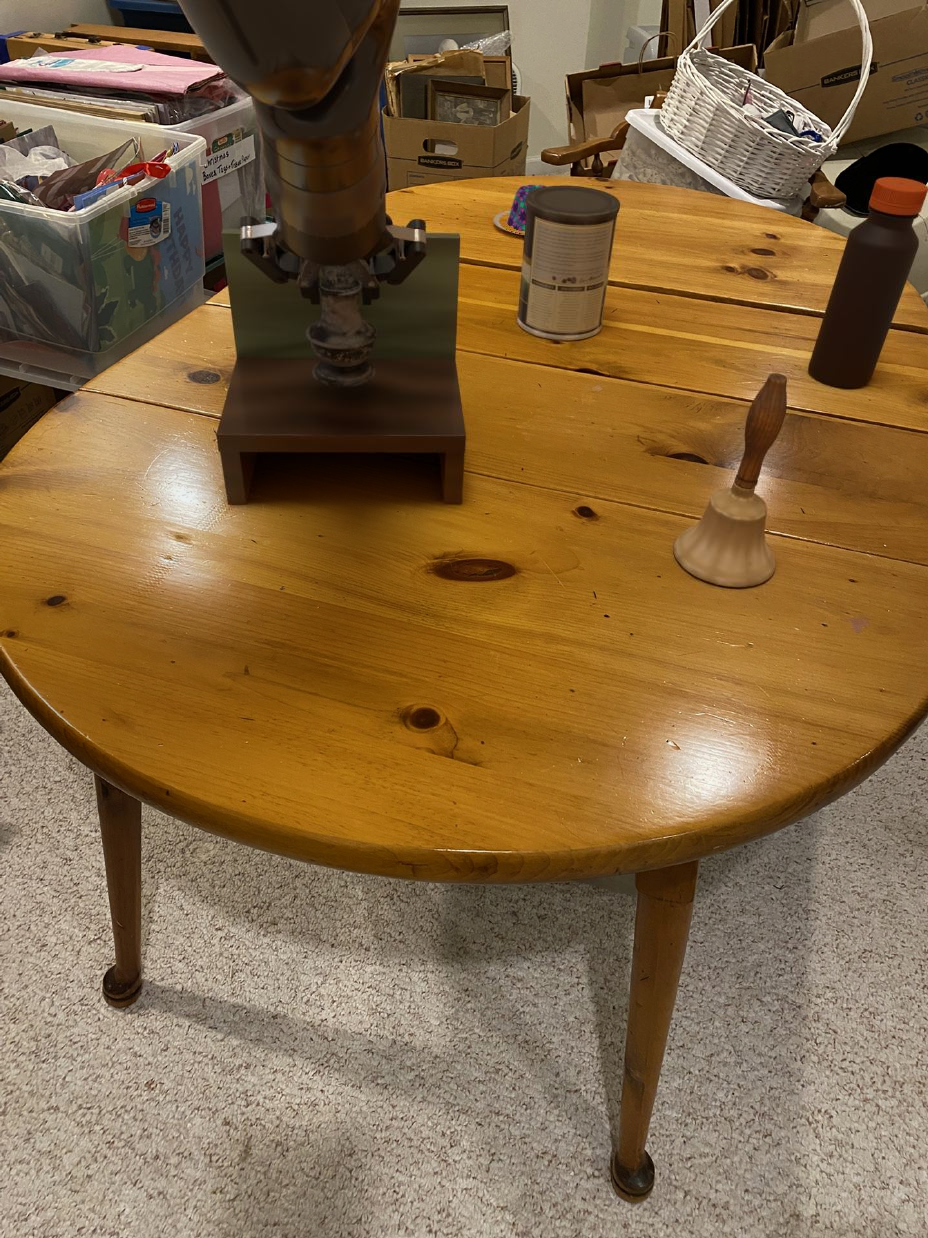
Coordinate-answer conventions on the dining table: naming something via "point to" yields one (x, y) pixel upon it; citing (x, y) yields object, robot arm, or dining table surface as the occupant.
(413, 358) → the shelf
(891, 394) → the dining table surface
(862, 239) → the bottle
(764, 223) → the dining table surface
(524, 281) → the coffee can
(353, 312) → the grey turned spindle
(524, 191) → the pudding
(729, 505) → the hand bell
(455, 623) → the dining table surface
